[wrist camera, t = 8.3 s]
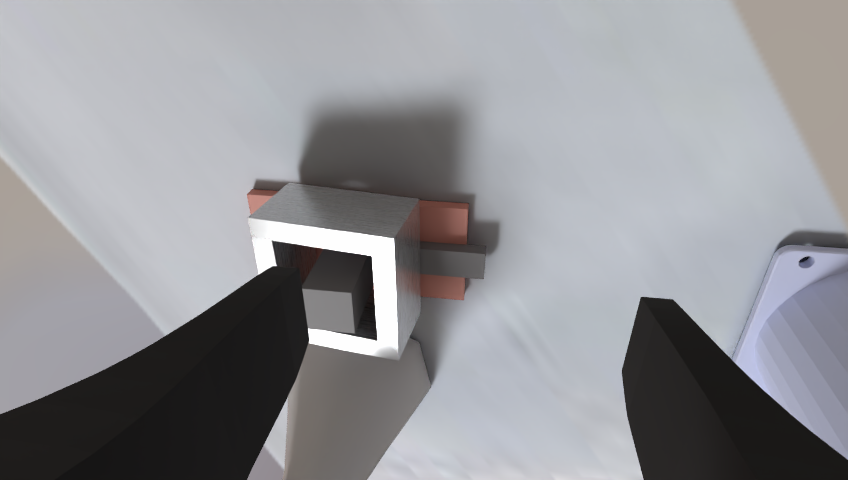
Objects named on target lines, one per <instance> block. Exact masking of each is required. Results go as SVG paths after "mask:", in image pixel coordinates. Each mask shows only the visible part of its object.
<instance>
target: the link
mask: <svg viewBox="0 0 848 480" xmlns="http://www.w3.org/2000/svg"><path fill="white" fill-rule="evenodd" d="M248 222H249V227H250V232H251V237H252V242H253V247H254V252H255V257H256V262H257V267H258V272H259V274H260V273H262V272H264V271H265V270H267V269H268V268H270V267H272V266H281V267H293V268H299V270H300V277H301V284H302V285H303V284H304V282H305V280H306V278H307V277H308V275H309V273H310V271H311V270H312V268H313V266H314V264H315V263H316V261H317V257H316V249H315V247H318V248H324V249H331V250H337V251H344V252H350V253H357V254H363V255H370V256H372V262H373V277H374V290H373V289H372V290H371V293H370V296H369V298H368V301H367V303H366V306H365V309H364V311H363V314H362V316H361V319H360V321H359V324H358V327H357V329H356V332H355V334H354V333H344V332H334V331H324V330H314V329H308V332H309V338H310V340H309V343H311V344H316V345H321V346H326V347H331V348H336V349H341V350H346V351H351V352H356V353H361V354H366V355H371V356H376V357H381V358H386V359H391V360H396V361H399V359H400V357H401V355H402V353H403V350H404V348H405V346H406V344H407V342H408V339H409V337H410V335H411V333H412V331H413V328H414V326H415V324H416V322H417V320H418V318H419V315H420V313H421V293H420V199H417V198H409V197H401V196H393V195H385V194H377V193H368V192H360V191H352V190H344V189H336V188H328V187H320V186H312V185H304V184H296V183H288V184H287V185H285V186H284V187H283V188H282V189H281V190H280V191H278V192H277V193H276V194H275V195H274V196H273V197H271V198H270V199H269V200H268V201H267V202H266V203H264V204H263V205H262V206H261V207H260V208H259V209H257V210H256V211H255V212H254V213H253V214H251V215H250V216H249V217H248Z"/></svg>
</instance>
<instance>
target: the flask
mask: <svg viewBox="0 0 848 480" xmlns="http://www.w3.org/2000/svg"><path fill="white" fill-rule="evenodd" d="M430 388H431V384H430V380H429V377H428V373H427V369H426V366H425V362H424V359H423V355H422V351H421V348H420V344H419V342H417V341H415V340H413V339H411V338H409V339H408V342H407V344H406V346H405V348H404V350H403V353H402V355H401V357H400V359H399V361H396V360H391V359H386V358H381V357H376V356H371V355H366V354H361V353H356V352H351V351H346V350H341V349H336V348H331V347H326V346H321V345H316V344H311V343H308V346H307V349H306V352H305V355H304V358H303V361H302V364H301V367H300V370H299V373H298V376H297V378H296V381H295V383H294V385H293V387H292V389H291V391H290V393H289V395H288V417H287V434H286V452H285V469H284V474H283V478H282V480H367V479H368V477H369V476H370V474H371V473H372V471H373V470H374V468H375V467H376V465H377V464H378V462H379V461H380V459H381V458H382V456H383V455H384V453H385V452H386V450H387V449H388V448H389V446H390V445H391V444H392V442H393V441H394V439H395V438H396V437H397V435H398V434H399V433H400V431H401V430H402V428H403V427H404V426H405V424H406V423H407V421H408V420H409V418H410V417H411V416H412V414H413V413H414V411H415V410H416V408H417V407H418V406H419V404H420V403H421V401H422V400H423V398H424V397H425V395H426V394H427V392H428V391H429V389H430Z"/></svg>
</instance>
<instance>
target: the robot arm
mask: <svg viewBox="0 0 848 480" xmlns="http://www.w3.org/2000/svg"><path fill="white" fill-rule="evenodd" d="M807 256H810V257H809V258H808V260H806V261H804V262H800V263H799V261H800V260H801V259H802V258H804V257H807ZM309 340H310V338H309V332H308V325H307V318H306V311H305V304H304V298H303V291H302V284H301V277H300V270H299V268H293V267H281V266H272V267H270V268H268V269H267V270H265V271H264V272H262V273H260V274H259V275H257V276H256V277H254V278H253V279H252V280H250V281H249V282H247V283H246V284H244V285H243V286H241V287H240V288H238V289H237V290H236V291H234V292H233V293H231V294H230V295H228V296H227V297H225V298H224V299H222V300H221V301H219V302H218V303H216V304H215V305H213V306H212V307H210V308H209V309H208V310H206V311H205V312H203V313H202V314H200V315H199V316H197V317H195V318H194V319H192V320H191V321H189V322H187V323H186V324H184V325H183V326H181V327H179V328H178V329H176V330H174V331H173V332H171V333H170V334H168V335H166V336H165V337H163V338H161V339H160V340H158V341H157V342H155V343H153V344H152V345H150V346H148V347H146V348H145V349H143V350H141V351H139V352H137V353H135V354H134V355H132V356H130V357H128V358H126V359H124V360H122V361H120V362H118V363H116V364H115V365H112V366H111V367H109V368H107V369H105V370H103V371H101V372H99V373H97V374H94V375H92V376H90V377H88V378H86V379H83V380H81V381H79V382H77V383H74V384H72V385H70V386H68V387H65V388H63V389H61V390H59V391H56V392H54V393H52V394H50V395H48V396H45V397H43V398H41V399H38V400H36V401H33V402H31V403H28V404H26V405H23V406H21V407H18V408H15V409H13V410H10V411H8V412H5V413H3V414H0V480H247V478H248V476H249V474H250V471H251V469H252V467H253V465H254V463H255V461H256V459H257V457H258V455H259V453H260V451H261V449H262V447H263V445H264V443H265V441H266V439H267V437H268V435H269V433H270V431H271V429H272V427H273V425H274V423H275V421H276V419H277V417H278V415H279V413H280V411H281V409H282V407H283V405H284V403H285V401H286V399H287V397H288V395H289V393H290V391H291V389H292V387H293V385H294V383H295V381H296V378H297V376H298V373H299V370H300V367H301V364H302V361H303V358H304V355H305V352H306V349H307V346H308V343H309ZM622 377H623V386H624V395H625V402H626V410H627V417H628V421H629V425H630V429H631V433H632V436H633V440H634V444H635V448H636V452H637V456H638V459H639V463H640V467H641V471H642V474H643V478H644V480H848V249H845V248H830V247H816V246H802V245H786V246H784V247H781V248H780V249H778V250H777V251H776V252H775V254H774V255H773V258H772V260H771V263H770V265H769V268H768V270H767V273H766V275H765V278H764V280H763V283H762V285H761V288H760V290H759V293H758V295H757V298H756V300H755V303H754V306H753V308H752V311H751V313H750V316H749V318H748V321H747V323H746V326H745V328H744V331H743V333H742V336H741V338H740V341H739V343H738V346H737V348H736V351H735V353H734V356H733V358H732V360H731V359H730V358H729V357H728V356H727V355H726V354H725V353H724V352H723V351H722V350H721V349H720V348H719V347H718V346H717V344H716V343H715V342H714V341H713V340H712V339H711V338H710V337H709V336H708V335H707V334H706V333H705V332H704V331H703V330H702V329H701V328H700V327H699V326H698V325H697V324H696V323H695V322H694V321H693V320H692V319H691V317H690V316H689V315H688V314H687V313H686V312H685V311H684V310H683V309H682V308H681V307H680V306H679V305H678V304H677V303H676V302H675V301H674V300H673V299H661V298H649V297H641V299H640V303H639V307H638V310H637V314H636V318H635V322H634V326H633V330H632V334H631V337H630V341H629V345H628V349H627V353H626V357H625V360H624V364H623V368H622Z"/></svg>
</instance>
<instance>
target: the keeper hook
mask: <svg viewBox="0 0 848 480" xmlns="http://www.w3.org/2000/svg"><path fill="white" fill-rule="evenodd" d="M277 192H278V191H272V190H256V189H252V190H251V191H250V192H249V193H248V194H247V197H248V203H249V208H250V213H251V214H253V213H254V212H255V211H256V210H257V209H259V208H260V207H261V206H262V205H263V204H264V203H266V202H267V201H268V200H269V199H270V198H271V197H273V196H274V195H275V194H276V193H277ZM468 209H469V203H454V202H439V201H424V200H420V293H421V296H422V297H433V298H444V299H456V300H464V294H465V278H474V279H484V270H485V256H486V246H478V245H467V230H468ZM315 249H316V257H317V261H316V263H315V264H314V266H313V268H312V270H311V271H310V273H309V275H308V277H307V278H306V280H305V282H304V284H303V285H302V291H303V298H304V304H305V311H306V318H307V325H308V329H314V330H324V331H334V332H344V333H354V334H355V332H356V329H357V327H358V324H359V321H360V319H361V316H362V314H363V311H364V309H365V306H366V303H367V301H368V298H369V296H370V293H371V290H372V289H373V290H374V277H373V262H372V256H370V255H363V254H357V253H350V252H344V251H337V250H331V249H324V248H318V247H315Z"/></svg>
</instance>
